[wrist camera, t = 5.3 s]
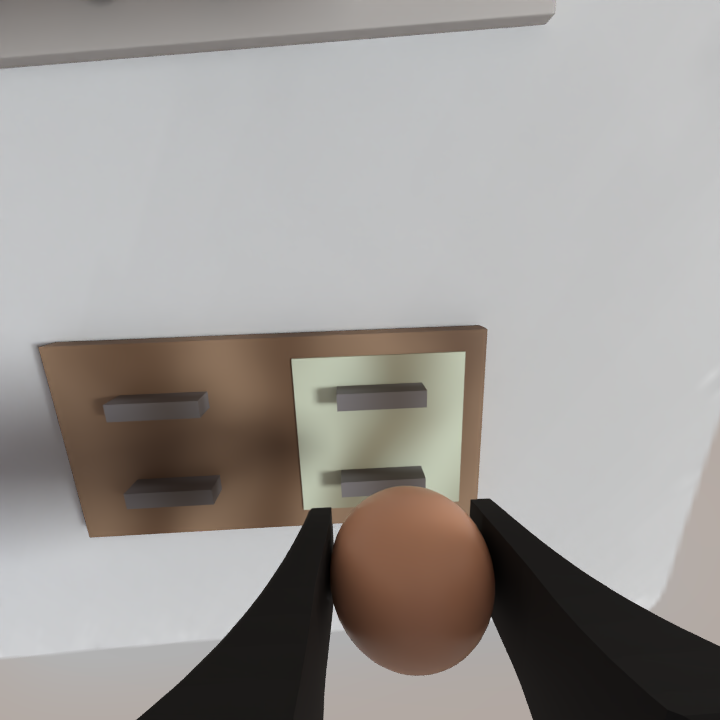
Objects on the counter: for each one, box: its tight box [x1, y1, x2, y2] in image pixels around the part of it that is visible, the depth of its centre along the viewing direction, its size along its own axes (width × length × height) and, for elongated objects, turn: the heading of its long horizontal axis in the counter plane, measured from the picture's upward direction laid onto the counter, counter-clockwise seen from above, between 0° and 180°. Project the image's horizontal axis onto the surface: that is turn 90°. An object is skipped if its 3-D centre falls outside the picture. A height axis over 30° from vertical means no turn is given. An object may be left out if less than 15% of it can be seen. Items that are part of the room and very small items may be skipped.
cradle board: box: [39, 325, 487, 537], centre depth 18 cm, size 20×10×2 cm, turn 92°
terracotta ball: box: [330, 486, 495, 676], centre depth 10 cm, size 4×4×4 cm
